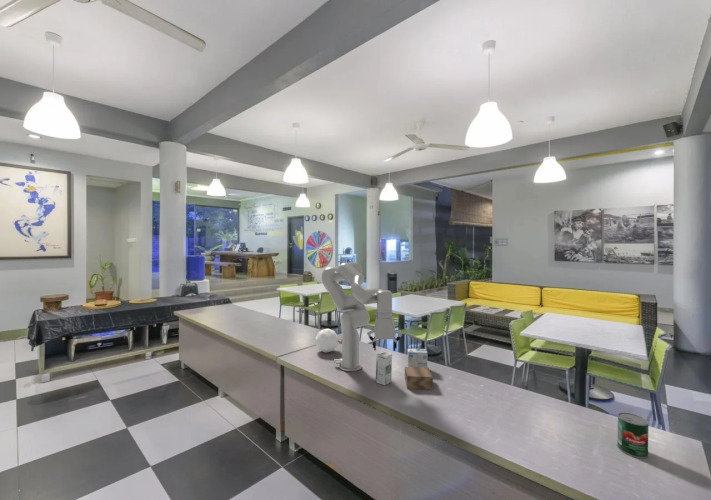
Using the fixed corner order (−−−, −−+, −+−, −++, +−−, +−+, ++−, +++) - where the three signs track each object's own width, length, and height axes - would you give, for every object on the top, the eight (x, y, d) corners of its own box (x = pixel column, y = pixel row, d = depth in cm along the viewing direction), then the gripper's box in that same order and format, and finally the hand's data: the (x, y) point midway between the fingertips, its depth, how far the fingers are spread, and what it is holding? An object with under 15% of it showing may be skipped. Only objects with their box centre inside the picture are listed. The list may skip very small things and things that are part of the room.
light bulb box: (426, 367, 180) (426, 348, 180) (427, 372, 174) (427, 352, 173) (407, 366, 181) (407, 347, 181) (407, 371, 175) (407, 351, 174)
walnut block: (407, 388, 153) (407, 376, 153) (404, 378, 165) (404, 366, 165) (432, 389, 153) (432, 377, 153) (428, 379, 165) (428, 367, 165)
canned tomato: (633, 443, 112) (633, 412, 112) (655, 458, 104) (655, 424, 104) (611, 443, 112) (611, 412, 112) (631, 458, 104) (632, 425, 104)
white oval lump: (314, 351, 196) (346, 354, 198) (317, 326, 200) (348, 329, 203) (313, 351, 209) (343, 354, 212) (316, 327, 214) (345, 331, 217)
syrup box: (382, 379, 164) (382, 350, 164) (391, 382, 160) (392, 353, 160) (375, 382, 160) (375, 353, 160) (385, 386, 156) (385, 356, 156)
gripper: (367, 316, 156) (367, 351, 156) (402, 317, 155) (402, 352, 155) (367, 313, 164) (367, 347, 164) (401, 314, 163) (401, 347, 163)
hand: (384, 349), depth 160 cm, fingers open, 9 cm apart
